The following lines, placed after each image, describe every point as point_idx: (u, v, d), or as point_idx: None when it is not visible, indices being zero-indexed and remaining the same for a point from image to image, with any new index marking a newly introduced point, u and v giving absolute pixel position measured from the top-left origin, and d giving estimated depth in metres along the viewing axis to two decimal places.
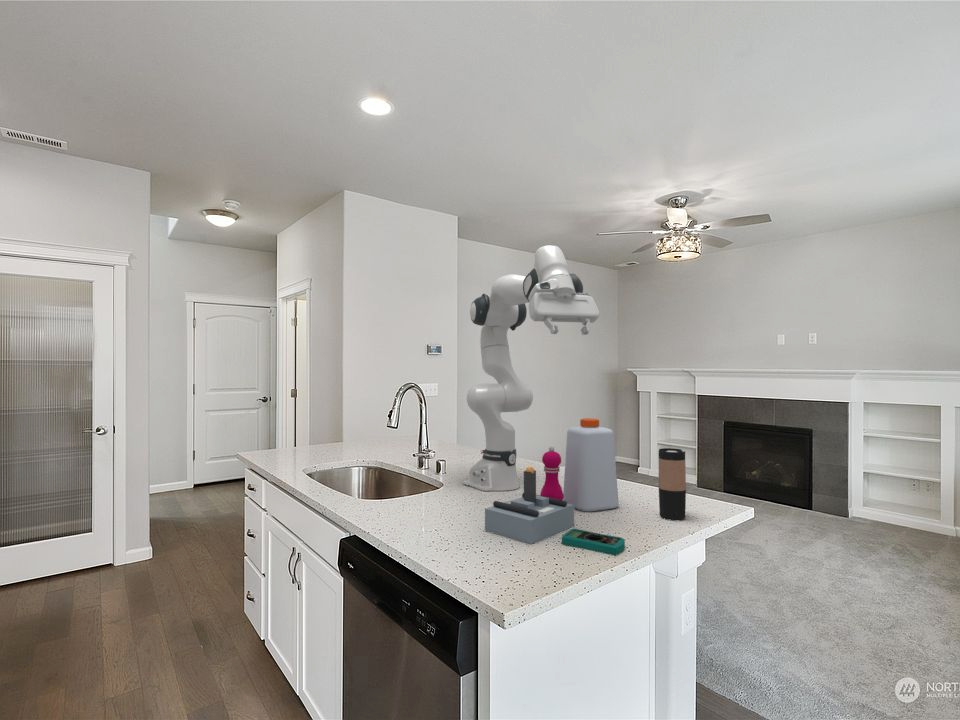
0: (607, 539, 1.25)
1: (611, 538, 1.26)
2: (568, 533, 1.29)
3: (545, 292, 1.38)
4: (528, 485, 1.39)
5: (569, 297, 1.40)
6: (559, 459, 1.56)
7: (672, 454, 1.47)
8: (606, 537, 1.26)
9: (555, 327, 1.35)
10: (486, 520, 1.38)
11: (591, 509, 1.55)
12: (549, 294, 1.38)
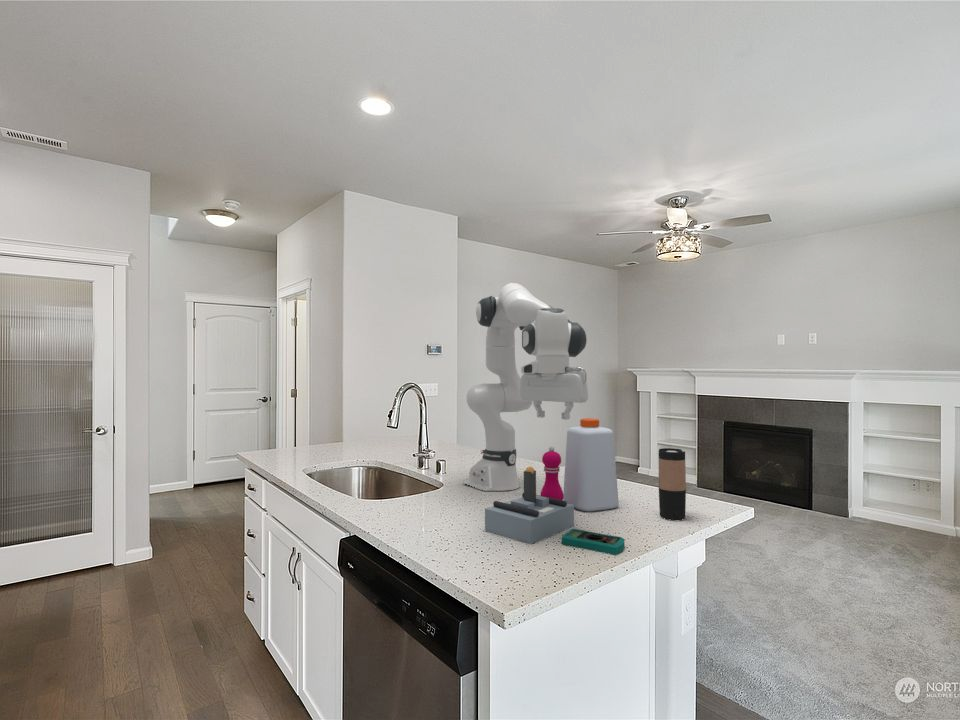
0: (607, 539, 1.25)
1: (611, 538, 1.26)
2: (568, 533, 1.29)
3: (529, 375, 1.38)
4: (528, 485, 1.39)
5: (552, 379, 1.33)
6: (559, 459, 1.56)
7: (672, 454, 1.47)
8: (606, 537, 1.27)
9: (539, 413, 1.37)
10: (486, 520, 1.38)
11: (591, 509, 1.55)
12: (532, 377, 1.37)
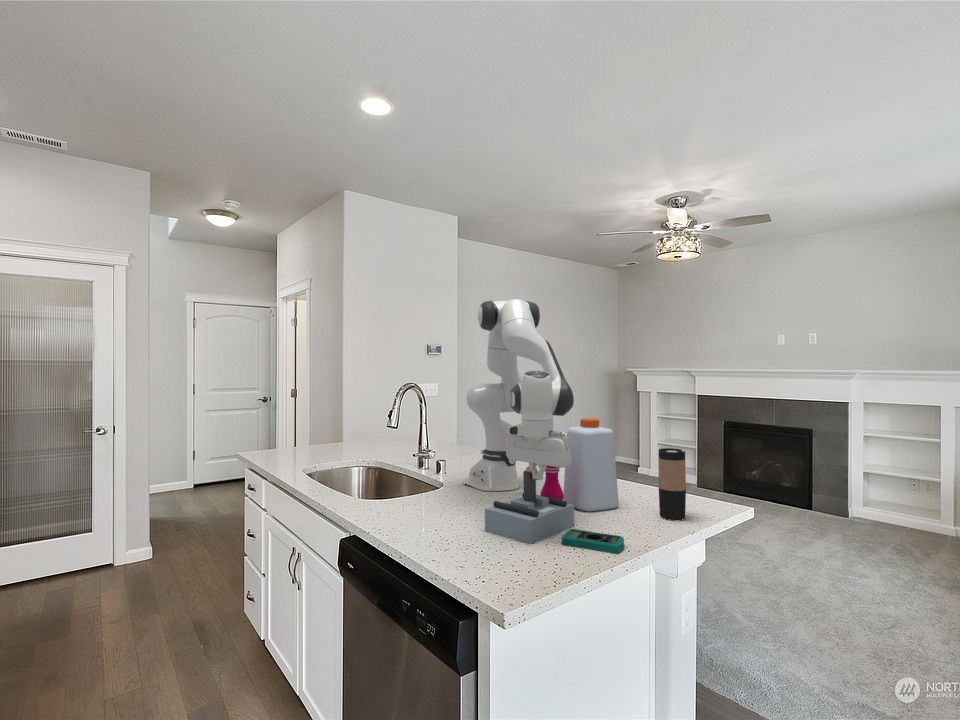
0: (607, 538, 1.26)
1: (610, 537, 1.27)
2: (567, 533, 1.29)
3: (514, 437, 1.41)
4: (528, 485, 1.39)
5: (536, 443, 1.36)
6: None
7: (672, 454, 1.47)
8: (605, 536, 1.27)
9: (534, 475, 1.38)
10: (486, 520, 1.38)
11: (591, 509, 1.55)
12: (518, 439, 1.40)
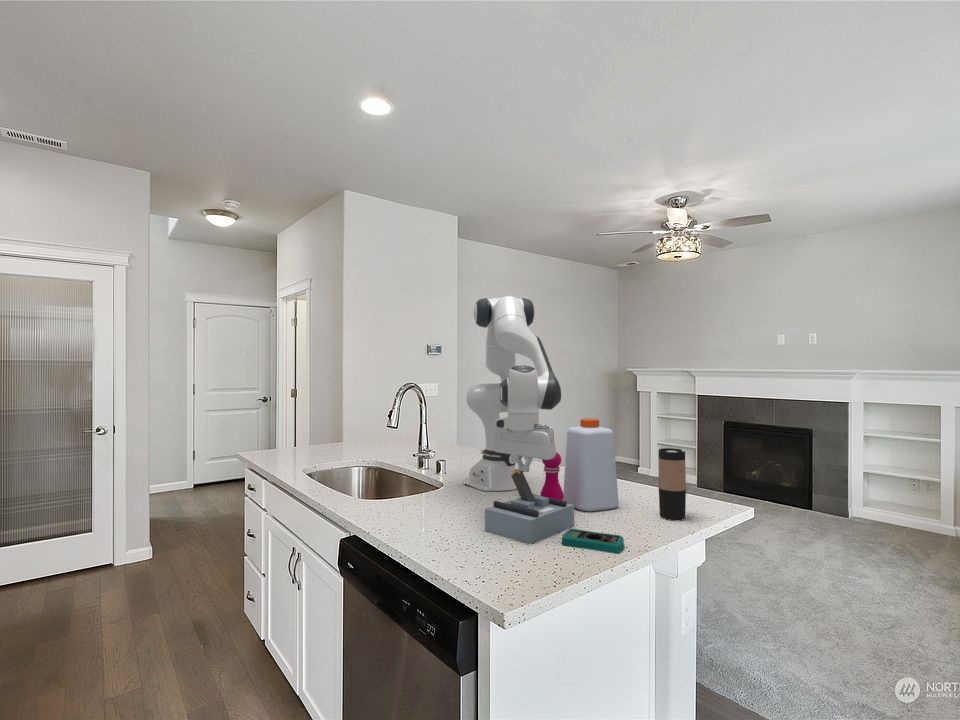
0: (607, 538, 1.26)
1: (610, 536, 1.27)
2: (567, 533, 1.29)
3: (501, 430, 1.44)
4: (520, 485, 1.41)
5: (522, 435, 1.40)
6: (559, 459, 1.56)
7: (672, 454, 1.47)
8: (605, 536, 1.27)
9: (519, 467, 1.42)
10: (486, 520, 1.38)
11: (591, 509, 1.55)
12: (504, 432, 1.44)
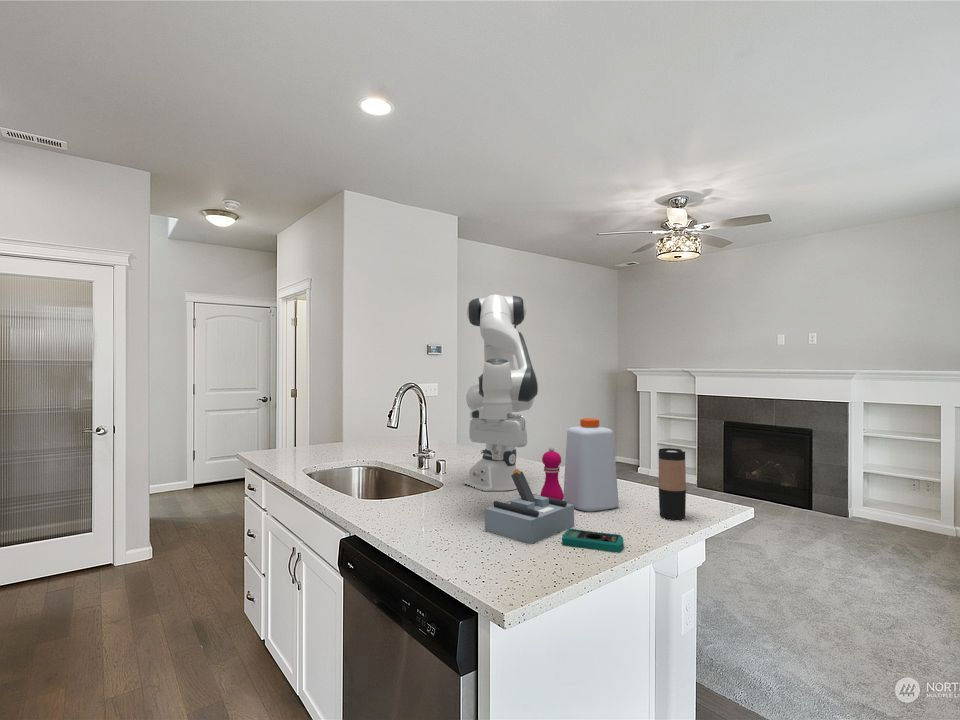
0: (607, 537, 1.26)
1: (610, 536, 1.27)
2: (567, 533, 1.29)
3: (476, 420, 1.51)
4: (520, 485, 1.41)
5: (496, 425, 1.46)
6: (559, 459, 1.56)
7: (672, 454, 1.47)
8: (605, 535, 1.28)
9: (494, 455, 1.48)
10: (486, 520, 1.38)
11: (591, 509, 1.55)
12: (479, 422, 1.50)
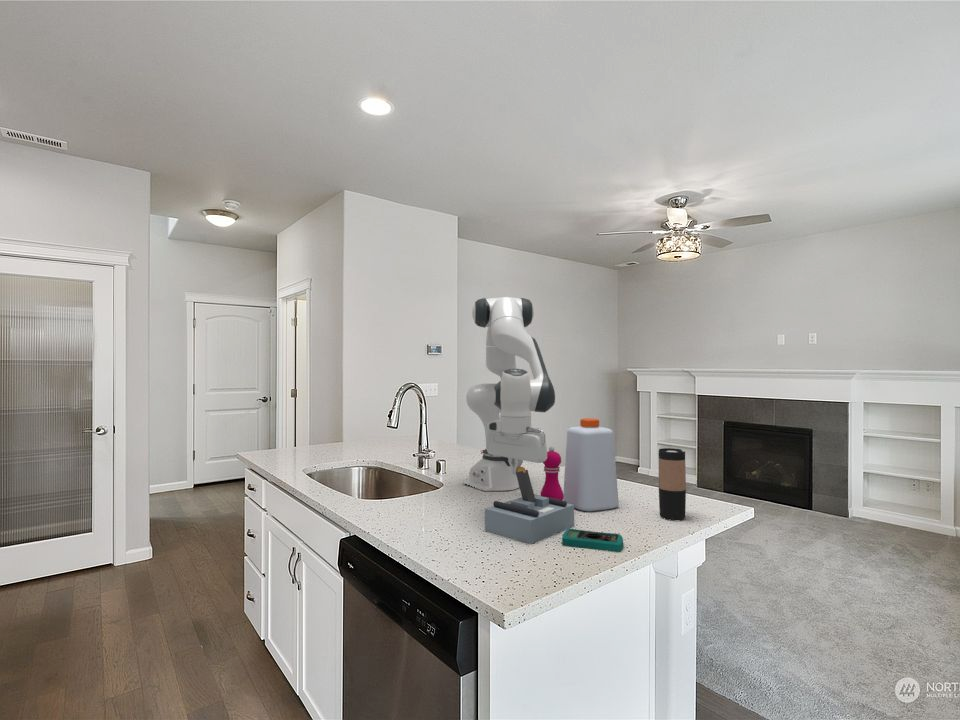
0: (606, 536, 1.27)
1: (609, 535, 1.28)
2: (566, 534, 1.29)
3: (494, 432, 1.46)
4: (523, 484, 1.40)
5: (514, 438, 1.41)
6: (559, 459, 1.56)
7: (672, 454, 1.47)
8: (604, 535, 1.28)
9: (513, 470, 1.43)
10: (486, 520, 1.38)
11: (591, 509, 1.55)
12: (497, 435, 1.45)
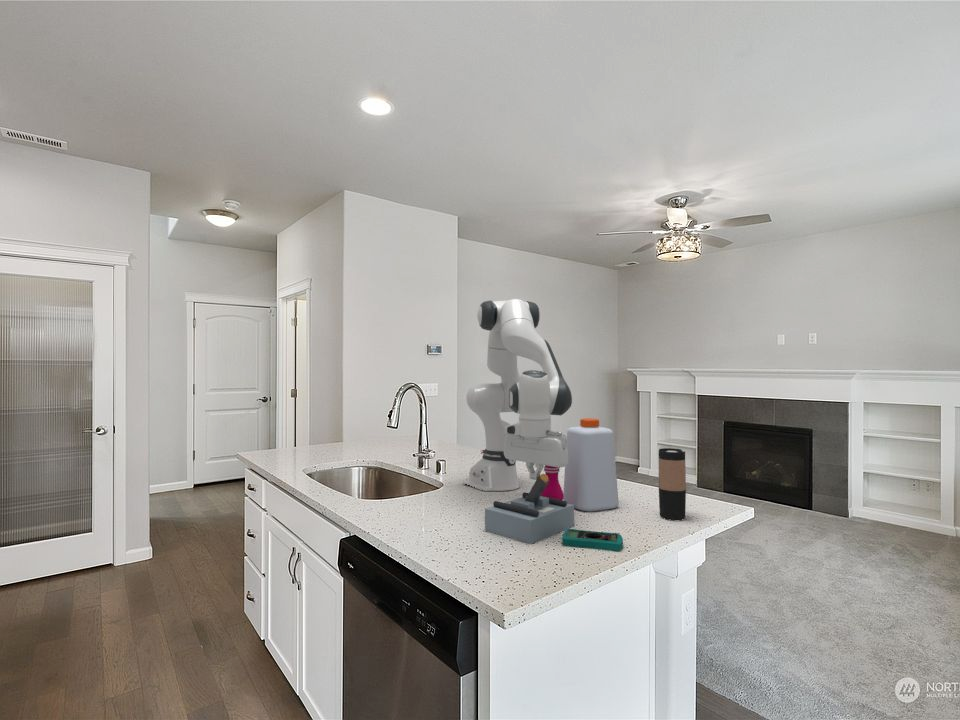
0: (606, 536, 1.27)
1: (609, 535, 1.28)
2: (566, 534, 1.29)
3: (512, 436, 1.41)
4: (536, 491, 1.37)
5: (534, 442, 1.36)
6: None
7: (672, 454, 1.47)
8: (604, 534, 1.28)
9: (531, 475, 1.38)
10: (486, 520, 1.38)
11: (591, 509, 1.55)
12: (515, 438, 1.40)
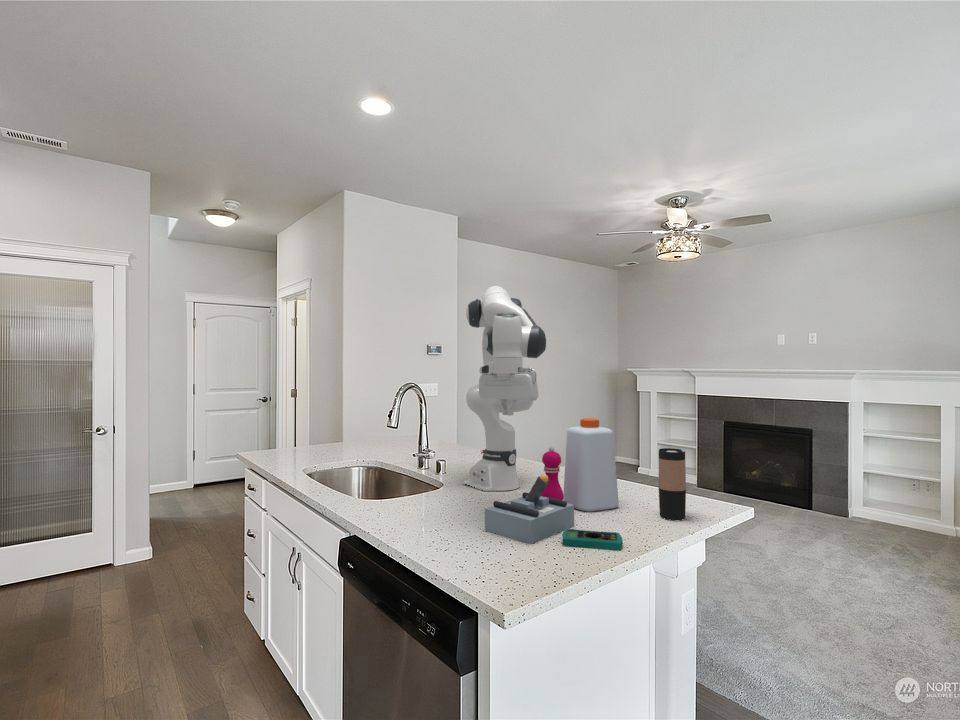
0: (606, 535, 1.27)
1: (608, 534, 1.29)
2: (566, 534, 1.29)
3: (486, 375, 1.49)
4: (536, 491, 1.37)
5: (506, 379, 1.44)
6: (559, 459, 1.56)
7: (672, 454, 1.47)
8: (603, 534, 1.29)
9: (504, 411, 1.46)
10: (486, 520, 1.38)
11: (591, 509, 1.55)
12: (489, 377, 1.48)
